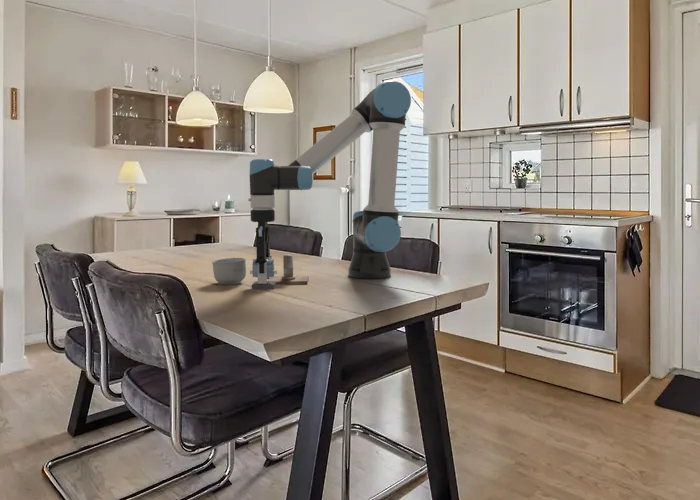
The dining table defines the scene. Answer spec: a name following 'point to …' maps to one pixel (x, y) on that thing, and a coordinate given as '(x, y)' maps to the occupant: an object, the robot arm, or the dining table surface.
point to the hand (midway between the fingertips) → (263, 281)
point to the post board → (296, 281)
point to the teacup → (229, 270)
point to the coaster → (264, 285)
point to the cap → (269, 268)
